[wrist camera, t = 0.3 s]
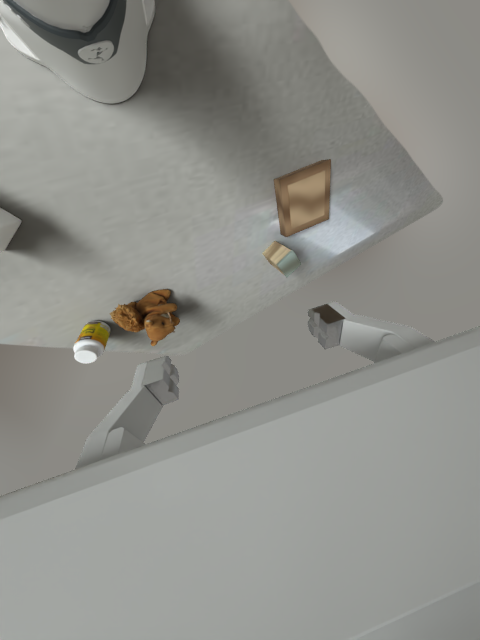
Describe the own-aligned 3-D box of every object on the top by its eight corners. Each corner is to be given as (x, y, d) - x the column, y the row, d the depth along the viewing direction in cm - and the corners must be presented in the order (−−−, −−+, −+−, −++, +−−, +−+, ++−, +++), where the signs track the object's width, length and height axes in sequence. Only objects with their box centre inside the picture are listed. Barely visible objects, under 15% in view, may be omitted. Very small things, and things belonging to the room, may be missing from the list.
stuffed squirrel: (178, 319, 55) (182, 351, 45) (122, 323, 50) (113, 360, 40) (177, 288, 49) (181, 316, 39) (113, 289, 44) (100, 322, 34)
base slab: (273, 179, 41) (280, 179, 39) (321, 160, 42) (331, 159, 40) (280, 234, 49) (287, 237, 47) (321, 217, 50) (329, 219, 48)
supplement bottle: (100, 316, 47) (88, 343, 39) (115, 331, 50) (107, 359, 43) (78, 325, 46) (61, 355, 39) (95, 339, 50) (83, 369, 42)
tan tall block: (262, 253, 51) (277, 265, 44) (274, 240, 50) (292, 250, 43) (271, 264, 54) (287, 277, 47) (283, 252, 53) (301, 264, 46)
